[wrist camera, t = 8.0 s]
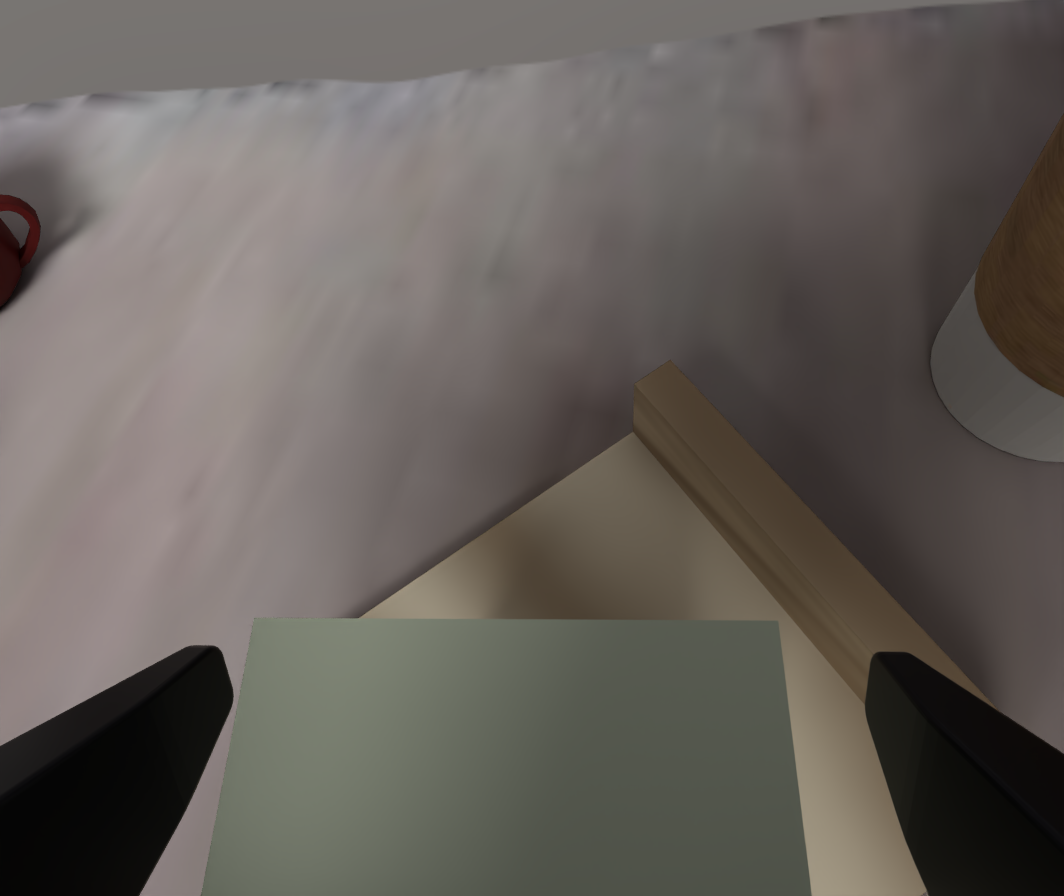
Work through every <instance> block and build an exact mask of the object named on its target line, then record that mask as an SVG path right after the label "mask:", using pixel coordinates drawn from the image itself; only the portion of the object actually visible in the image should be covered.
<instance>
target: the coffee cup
mask: <svg viewBox="0 0 1064 896" xmlns="http://www.w3.org/2000/svg"><path fill="white" fill-rule="evenodd" d="M930 365H931V372H932V378H933V382H934V384H935V387H936V390H937V392H938V395H939V397H940V398H941V400H942V401H943V403H944V404H945V406H946V408H947V409H948V411H949V412H950V413H951V414H952V415H953V416H954V417H955V418H956V420H957V421H958V422H959V423H960V424H961V425H962V426H963V427H965V428H966V429H967V430H969V431H970V432H971V433H972V434H974V435H975V436H976V437H978V438H979V439H981V440H983V441H985V442H986V443H988V444H990V445H992V446H994V447H996V448H997V449H1000V450H1003V451H1005V452H1008V453H1011V454H1013V455H1016V456H1019V457H1023V458H1028V459H1033V460H1038V461H1047V462H1064V114H1063V115H1062V117H1061V119H1060V121H1059V122H1058V124H1057V126H1056V128H1055V130H1054V131H1053V133H1052V135H1051V137H1050V138H1049V140H1048V142H1047V144H1046V145H1045V147H1044V149H1043V151H1042V152H1041V154H1040V156H1039V158H1038V159H1037V161H1036V163H1035V165H1034V166H1033V168H1032V170H1031V172H1030V174H1029V175H1028V177H1027V179H1026V181H1025V182H1024V184H1023V186H1022V188H1021V189H1020V191H1019V193H1018V195H1017V196H1016V198H1015V200H1014V202H1013V203H1012V205H1011V207H1010V209H1009V210H1008V212H1007V214H1006V216H1005V218H1004V219H1003V221H1002V223H1001V225H1000V226H999V228H998V230H997V232H996V233H995V235H994V237H993V239H992V240H991V242H990V244H989V246H988V247H987V249H986V251H985V253H984V254H983V256H982V259H981V261H980V264H979V266H978V268H977V269H976V271H975V273H974V274H973V276H972V278H971V279H970V281H969V282H968V284H967V286H966V287H965V289H964V290H963V292H962V294H961V295H960V297H959V299H958V300H957V302H956V303H955V305H954V307H953V308H952V310H951V312H950V313H949V315H948V316H947V318H946V320H945V321H944V323H943V325H942V326H941V328H940V330H939V332H938V334H937V336H936V339H935V341H934V344H933V347H932V352H931V361H930Z"/></svg>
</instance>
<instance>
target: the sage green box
mask: <svg viewBox="0 0 1064 896" xmlns="http://www.w3.org/2000/svg"><path fill="white" fill-rule="evenodd" d="M201 896H812V892H811V884H810V876H809V867H808V859H807V851H806V843H805V835H804V827H803V818H802V810H801V802H800V794H799V786H798V778H797V769H796V761H795V753H794V745H793V737H792V729H791V721H790V712H789V704H788V696H787V688H786V680H785V672H784V663H783V655H782V647H781V639H780V631H779V623H778V621H761V620H571V619H381V618H254V622H253V627H252V632H251V638H250V643H249V648H248V653H247V659H246V664H245V669H244V674H243V679H242V685H241V690H240V695H239V700H238V705H237V711H236V716H235V721H234V726H233V732H232V737H231V742H230V747H229V752H228V758H227V763H226V768H225V773H224V778H223V784H222V789H221V794H220V799H219V805H218V810H217V815H216V820H215V825H214V831H213V836H212V841H211V846H210V852H209V857H208V862H207V867H206V872H205V878H204V883H203V888H202V893H201Z"/></svg>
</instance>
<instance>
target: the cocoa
mask: <svg viewBox="0 0 1064 896" xmlns="http://www.w3.org/2000/svg"><path fill="white" fill-rule="evenodd" d="M8 210H9V211H13V212H17V213H18V214H20V215H22V216H23V217H24V218H25V219H26V220H27V222H28V224H29V226H30V228H29V233H28V236H27V239H26V242H25V244H24V246H23V247H22V248H21V249H20V247H19V243H18V241H17V240H16V238H15V237H14V235H13V234H12V233H11V231H10V230H9V228H8V227H7V226H6V225H5V223H4V222H3V221H2V220H1V218H0V307H1V306H2V305H3V304H4V303H5V302H6V301H7V300H8V299H9V298H10V297H11V295H12V293H13V291H14V289H15V287H16V285H17V283H18V280H19V278H20V276H21V271H22V268H23V267H25V266H26V265H27V264H28V263H29V262H30V260H31V258H32V257H33V255H34V253H35V251H36V249H37V246H38V242H39V237H40V227H41V226H40V222H39V219H38V216H37V214H36V211H35V210H34V209H33V208H32V207H31V206H30V205H29V204H27V203H26V202H24V201H23V200H21V199H20V198H16V197H13V196H10V195H0V211H8Z"/></svg>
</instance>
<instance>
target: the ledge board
mask: <svg viewBox="0 0 1064 896" xmlns="http://www.w3.org/2000/svg"><path fill="white" fill-rule="evenodd" d="M360 618H381V619H571V620H761V621H778V623H779V631H780V639H781V647H782V655H783V663H784V672H785V680H786V688H787V696H788V704H789V712H790V721H791V729H792V737H793V745H794V753H795V761H796V769H797V778H798V786H799V794H800V802H801V810H802V818H803V827H804V835H805V843H806V851H807V859H808V867H809V876H810V884H811V892H812V896H921V895H922V894H924V893H925V892H926V891H927V890H926V888H925V886H924V884H923V881H922V879H921V877H920V874H919V872H918V870H917V868H916V865H915V863H914V861H913V858H912V856H911V853H910V851H909V848H908V846H907V844H906V841H905V838H904V835H903V832H902V830H901V827H900V824H899V821H898V818H897V815H896V811H895V808H894V805H893V802H892V799H891V796H890V793H889V789H888V786H887V783H886V780H885V777H884V774H883V770H882V767H881V764H880V761H879V758H878V755H877V752H876V748H875V745H874V742H873V739H872V736H871V733H870V730H869V726H868V723H867V719H866V714H865V697H866V689H867V682H868V674H869V667H870V661H871V658H872V656H873V654H875V653H876V652H879V651H887V652H908V653H910V654H912V655H914V656H916V657H917V658H919V659H920V660H922V661H923V662H925V663H926V664H928V665H929V666H931V667H932V668H934V669H935V670H937V671H939V672H940V673H942V674H943V675H945V676H946V677H948V678H949V679H951V680H952V681H954V682H955V683H957V684H958V685H960V686H961V687H963V688H964V689H966V690H967V691H969V692H971V693H972V694H974V695H975V696H977V697H978V698H980V699H981V700H983V701H984V702H986V703H987V704H989V705H990V706H992V707H993V708H995V709H996V710H998V709H997V708H996V707H995V706H994V705H993V704H992V703H991V702H990V701H989V700H988V698H987V697H986V696H985V695H984V694H983V693H982V692H981V691H980V690H979V689H978V688H977V687H976V686H975V685H974V684H973V682H972V681H971V680H970V679H969V678H968V677H967V676H966V675H965V674H964V673H963V672H962V671H961V670H960V669H959V668H958V666H957V665H956V664H955V663H954V662H953V661H952V660H951V659H950V658H949V657H948V656H947V655H946V654H945V653H944V652H943V650H942V649H941V648H940V647H939V646H938V645H937V644H936V643H935V642H934V641H933V640H932V639H931V638H930V637H929V635H928V634H927V633H926V632H925V631H924V630H923V629H922V628H921V627H920V626H919V625H918V624H917V623H916V622H915V621H914V619H913V618H912V617H911V616H910V615H909V614H908V613H907V612H906V611H905V610H904V609H903V608H902V607H901V606H900V605H899V603H898V602H897V601H896V600H895V599H894V598H893V597H892V596H891V595H890V594H889V593H888V592H887V591H886V590H885V589H884V587H883V586H882V585H881V584H880V583H879V582H878V581H877V580H876V579H875V578H874V577H873V576H872V575H871V574H870V572H869V571H868V570H867V569H866V568H865V567H864V566H863V565H862V564H861V563H860V562H859V561H858V560H857V559H856V558H855V556H854V555H853V554H852V553H851V552H850V551H849V550H848V549H847V548H846V547H845V546H844V545H843V544H842V543H841V542H840V540H839V539H838V538H837V537H836V536H835V535H834V534H833V533H832V532H831V531H830V530H829V529H828V528H827V527H826V526H825V524H824V523H823V522H822V521H821V520H820V519H819V518H818V517H817V516H816V515H815V514H814V513H813V512H812V511H811V509H810V508H809V507H808V506H807V505H806V504H805V503H804V502H803V501H802V500H801V499H800V498H799V497H798V496H797V495H796V493H795V492H794V491H793V490H792V489H791V488H790V487H789V486H788V485H787V484H786V483H785V482H784V481H783V480H782V479H781V477H780V476H779V475H778V474H777V473H776V472H775V471H774V470H773V469H772V468H771V467H770V466H769V465H768V464H767V463H766V461H765V460H764V459H763V458H762V457H761V456H760V455H759V454H758V453H757V452H756V451H755V450H754V449H753V448H752V446H751V445H750V444H749V443H748V442H747V441H746V440H745V439H744V438H743V437H742V436H741V435H740V434H739V433H738V432H737V430H736V429H735V428H734V427H733V426H732V425H731V424H730V423H729V422H728V421H727V420H726V419H725V418H724V417H723V416H722V414H721V413H720V412H719V411H718V410H717V409H716V408H715V407H714V406H713V405H712V404H711V403H710V402H709V401H708V400H707V398H706V397H705V396H704V395H703V394H702V393H701V392H700V391H699V390H698V389H697V388H696V387H695V386H694V385H693V383H692V382H691V381H690V380H689V379H688V378H687V377H686V376H685V375H684V374H683V373H682V372H681V371H680V370H679V369H678V367H677V366H676V365H675V364H674V363H673V362H672V361H671V360H669V361H668V362H666V363H665V364H663V365H662V366H660V367H659V368H657V369H656V370H654V371H653V372H651V373H650V374H648V375H647V376H645V377H644V378H642V379H641V380H639V381H638V382H636V383H635V384H634V412H633V432H632V433H630V434H629V435H627V436H626V437H624V438H623V439H621V440H620V441H618V442H617V443H615V444H614V445H612V446H611V447H610V448H608V449H607V450H605V451H604V452H602V453H601V454H599V455H598V456H596V457H595V458H593V459H592V460H590V461H589V462H587V463H586V464H585V465H583V466H582V467H580V468H579V469H577V470H576V471H574V472H573V473H571V474H570V475H568V476H567V477H565V478H564V479H562V480H561V481H560V482H558V483H557V484H555V485H554V486H552V487H551V488H549V489H548V490H546V491H545V492H543V493H542V494H540V495H539V496H537V497H536V498H535V499H533V500H532V501H530V502H529V503H527V504H526V505H524V506H523V507H521V508H520V509H518V510H517V511H515V512H514V513H512V514H511V515H510V516H508V517H507V518H505V519H504V520H502V521H501V522H499V523H498V524H496V525H495V526H493V527H492V528H490V529H489V530H487V531H486V532H485V533H483V534H482V535H480V536H479V537H477V538H476V539H474V540H473V541H471V542H470V543H468V544H467V545H465V546H464V547H462V548H461V549H460V550H458V551H457V552H455V553H454V554H452V555H451V556H449V557H448V558H446V559H445V560H443V561H442V562H440V563H439V564H437V565H436V566H435V567H433V568H432V569H430V570H429V571H427V572H426V573H424V574H423V575H421V576H420V577H418V578H417V579H415V580H414V581H412V582H411V583H410V584H408V585H407V586H405V587H404V588H402V589H401V590H399V591H398V592H396V593H395V594H393V595H392V596H390V597H389V598H387V599H386V600H385V601H383V602H382V603H380V604H379V605H377V606H376V607H374V608H373V609H371V610H370V611H368V612H367V613H365V614H364V615H362V616H361V617H360ZM998 711H999V710H998ZM999 712H1000V711H999Z"/></svg>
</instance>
